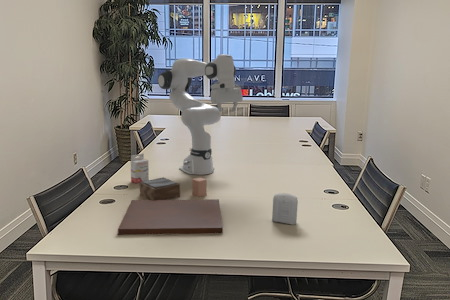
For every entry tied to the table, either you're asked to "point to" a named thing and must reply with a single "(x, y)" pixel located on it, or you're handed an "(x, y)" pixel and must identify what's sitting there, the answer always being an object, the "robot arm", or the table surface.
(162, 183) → the walnut pedestal
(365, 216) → the table surface
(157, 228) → the brown wooden board
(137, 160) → the ink cartridge box
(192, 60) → the robot arm
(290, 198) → the grey tombstone
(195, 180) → the terracotta block
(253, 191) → the table surface
